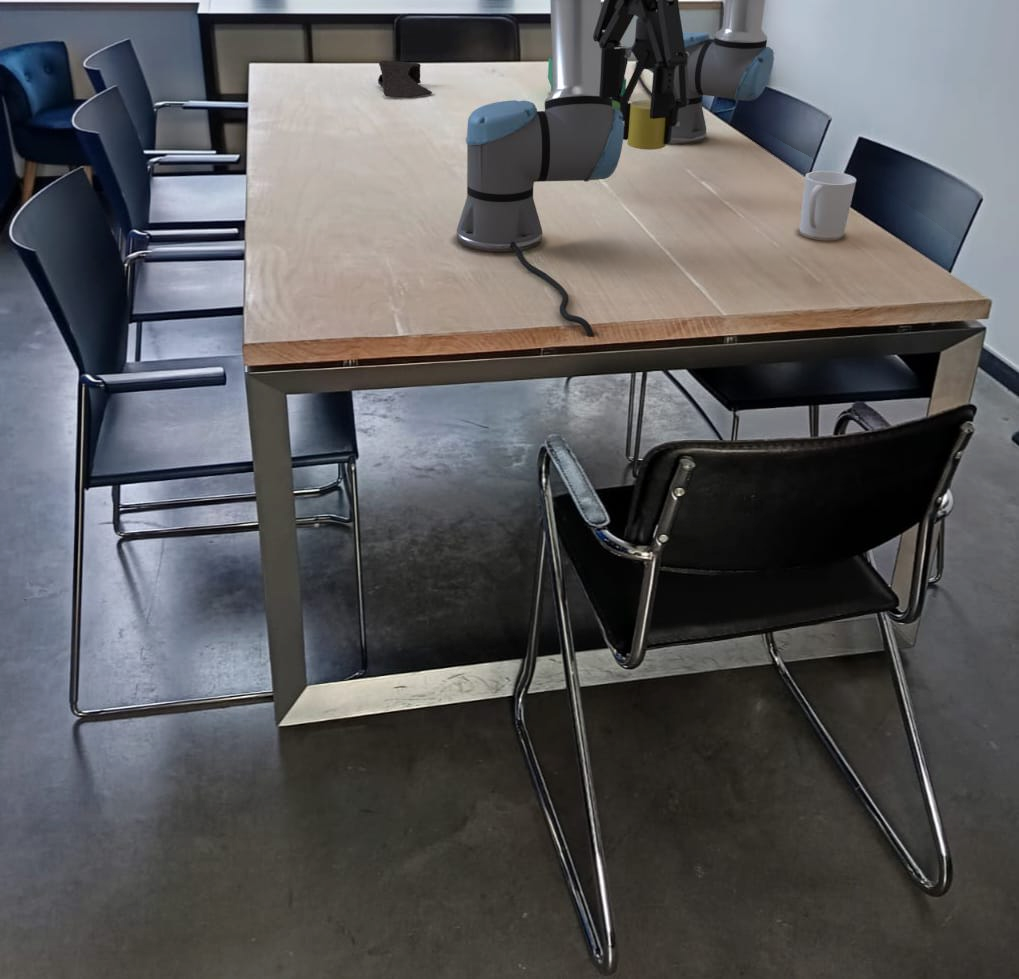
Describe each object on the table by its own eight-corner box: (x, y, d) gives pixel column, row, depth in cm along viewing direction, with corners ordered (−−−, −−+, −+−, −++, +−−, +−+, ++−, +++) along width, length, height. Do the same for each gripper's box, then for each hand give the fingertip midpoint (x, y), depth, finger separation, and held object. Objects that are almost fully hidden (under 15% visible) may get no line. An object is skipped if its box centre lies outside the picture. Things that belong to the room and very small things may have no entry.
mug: (809, 222, 208) (818, 168, 202) (854, 233, 203) (864, 177, 197) (782, 236, 200) (791, 180, 195) (827, 247, 195) (838, 190, 190)
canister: (636, 137, 223) (639, 98, 218) (671, 142, 220) (674, 102, 215) (621, 146, 217) (624, 105, 213) (657, 151, 214) (660, 110, 210)
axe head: (443, 87, 294) (392, 77, 287) (436, 115, 299) (385, 106, 292) (421, 62, 307) (371, 52, 300) (414, 89, 311) (365, 80, 304)
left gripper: (726, -53, 135) (706, 124, 146) (621, -71, 154) (610, 87, 165) (674, -51, 132) (658, 129, 143) (574, -70, 151) (567, 91, 162)
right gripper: (598, 16, 206) (592, 139, 218) (706, 23, 200) (693, 150, 212) (609, 10, 212) (602, 130, 224) (714, 17, 206) (701, 140, 218)
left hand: (633, 107), depth 154 cm, fingers open, 13 cm apart
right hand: (646, 140), depth 218 cm, fingers closed on canister, 8 cm apart
